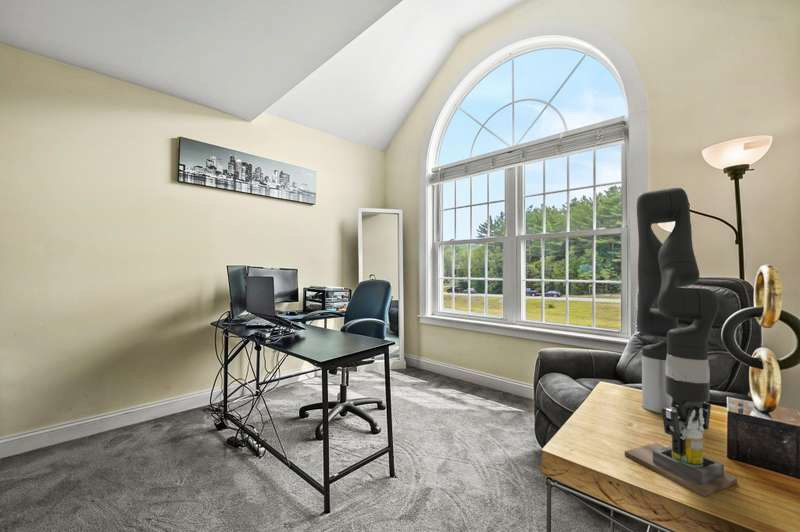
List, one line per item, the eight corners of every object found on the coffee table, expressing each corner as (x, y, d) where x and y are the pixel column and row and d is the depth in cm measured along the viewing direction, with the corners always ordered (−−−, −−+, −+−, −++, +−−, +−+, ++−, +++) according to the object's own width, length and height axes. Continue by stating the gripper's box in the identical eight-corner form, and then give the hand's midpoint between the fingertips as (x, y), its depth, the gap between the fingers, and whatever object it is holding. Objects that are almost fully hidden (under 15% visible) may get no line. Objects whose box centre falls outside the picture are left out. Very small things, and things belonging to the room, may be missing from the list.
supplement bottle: (709, 469, 72) (709, 425, 72) (685, 469, 72) (685, 424, 72) (688, 455, 77) (688, 414, 77) (665, 455, 77) (665, 414, 78)
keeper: (656, 446, 86) (656, 432, 86) (736, 483, 71) (736, 466, 71) (624, 455, 82) (624, 441, 82) (704, 496, 67) (704, 479, 67)
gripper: (686, 368, 81) (686, 438, 81) (648, 374, 76) (648, 449, 76) (726, 377, 74) (726, 453, 74) (687, 385, 69) (687, 467, 69)
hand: (686, 451), depth 75 cm, fingers closed on supplement bottle, 5 cm apart
